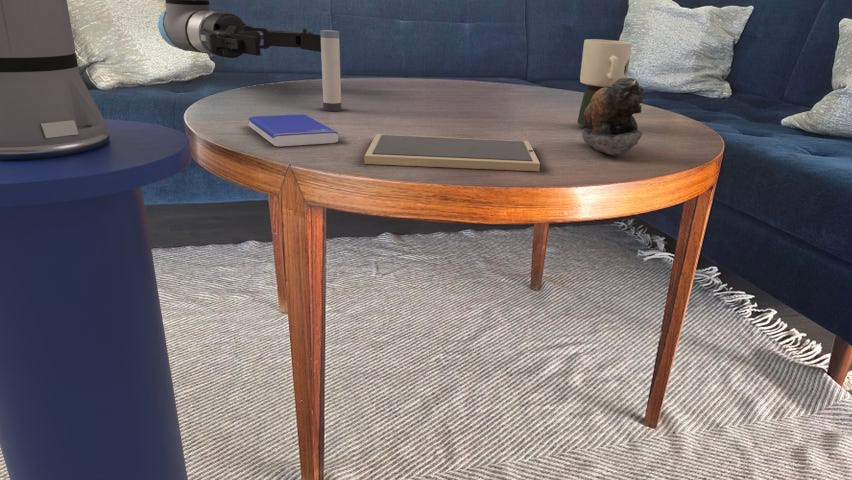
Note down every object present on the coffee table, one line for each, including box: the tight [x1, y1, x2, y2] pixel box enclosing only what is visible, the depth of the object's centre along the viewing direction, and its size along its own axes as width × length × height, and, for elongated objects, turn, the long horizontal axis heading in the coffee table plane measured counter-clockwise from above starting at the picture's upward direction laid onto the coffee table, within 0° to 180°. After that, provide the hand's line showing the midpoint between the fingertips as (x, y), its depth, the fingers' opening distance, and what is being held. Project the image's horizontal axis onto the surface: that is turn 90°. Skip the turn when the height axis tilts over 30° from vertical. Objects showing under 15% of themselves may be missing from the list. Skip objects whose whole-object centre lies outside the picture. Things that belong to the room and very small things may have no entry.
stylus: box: [319, 29, 342, 112], centre depth 101 cm, size 3×3×12 cm
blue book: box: [248, 114, 339, 147], centre depth 84 cm, size 2×8×12 cm
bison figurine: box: [581, 77, 644, 156], centre depth 84 cm, size 12×7×10 cm, turn 7°
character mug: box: [576, 38, 633, 126], centre depth 99 cm, size 11×7×13 cm, turn 5°
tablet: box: [364, 133, 541, 172], centre depth 79 cm, size 20×12×1 cm, turn 92°
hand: (294, 45), depth 105 cm, fingers open, 13 cm apart
